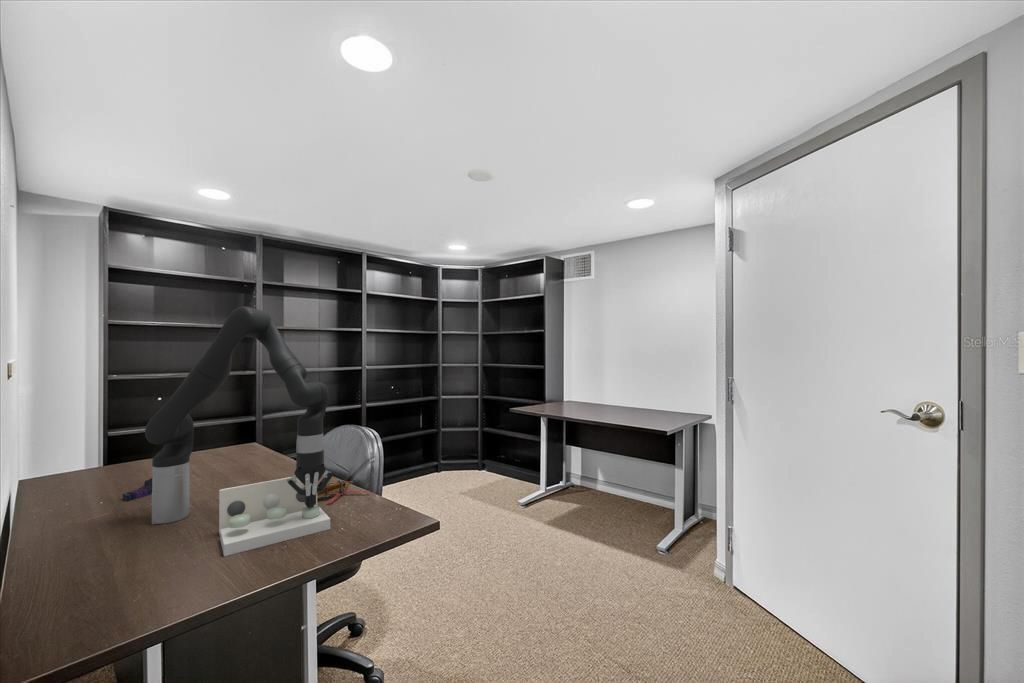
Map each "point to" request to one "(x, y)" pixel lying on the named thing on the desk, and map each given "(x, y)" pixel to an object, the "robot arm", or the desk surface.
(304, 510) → the button right
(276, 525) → the button panel
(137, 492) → the handgun
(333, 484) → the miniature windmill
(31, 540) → the desk surface
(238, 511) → the pattern card
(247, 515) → the button left
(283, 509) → the button middle
